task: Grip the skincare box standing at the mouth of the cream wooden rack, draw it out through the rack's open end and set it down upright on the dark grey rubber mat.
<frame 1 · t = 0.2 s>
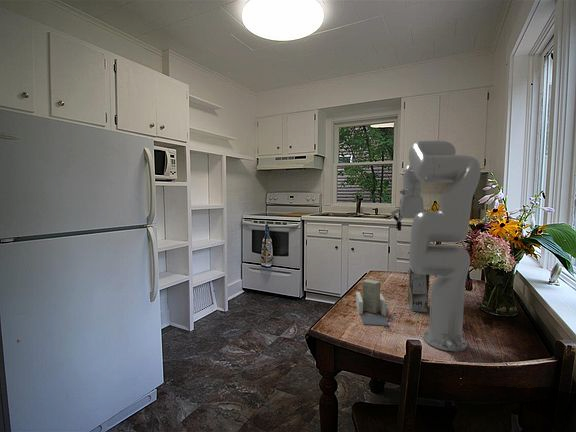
hand: (409, 230, 141), 31 cm above the table, tool pointing down, fingers open, 9 cm apart
coffee box: (417, 308, 129), on the table
skincare box: (370, 310, 126), resting in rack
rack: (370, 310, 126), on the table
mat: (374, 320, 116), on the table
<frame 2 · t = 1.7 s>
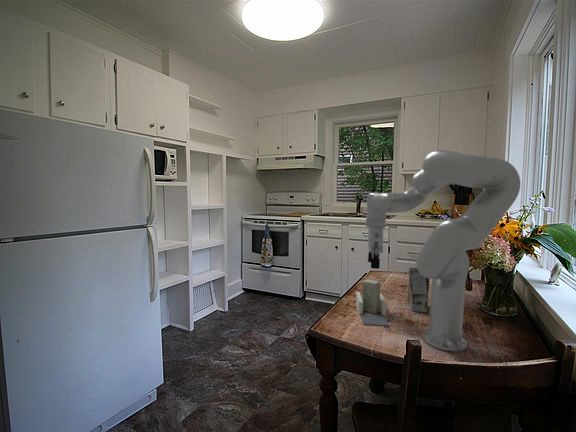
hand: (373, 265, 125), 19 cm above the table, tool pointing down, fingers open, 9 cm apart
nothing on the table moved.
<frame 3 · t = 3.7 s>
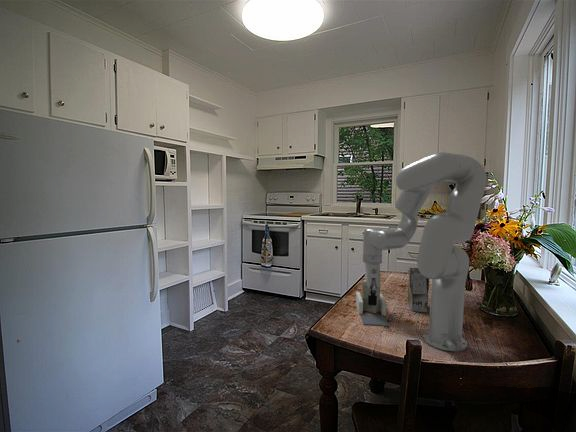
hand: (370, 301, 125), 4 cm above the table, tool pointing down, fingers closed on skincare box, 6 cm apart
skincare box: (370, 310, 126), resting in rack, touching gripper
everything else where it was.
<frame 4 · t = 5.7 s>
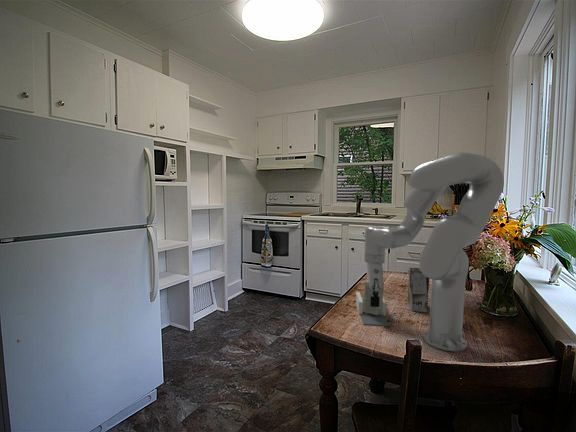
hand: (373, 302, 121), 5 cm above the table, tool pointing down, fingers closed on skincare box, 6 cm apart
skincare box: (372, 312, 121), point 1 cm above the table, touching gripper
everything else where it was.
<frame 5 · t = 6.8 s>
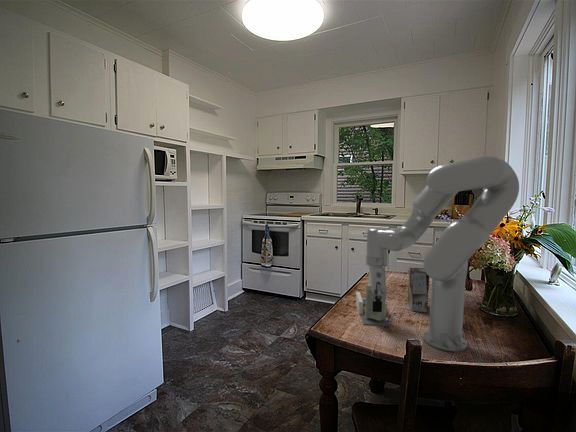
hand: (375, 307, 116), 5 cm above the table, tool pointing down, fingers closed on skincare box, 6 cm apart
skincare box: (374, 317, 116), point 1 cm above the table, touching gripper
everything else where it was.
when the fingers open (5 cm above the table, at t = 7.8 s): skincare box stays where it is, resting on mat.
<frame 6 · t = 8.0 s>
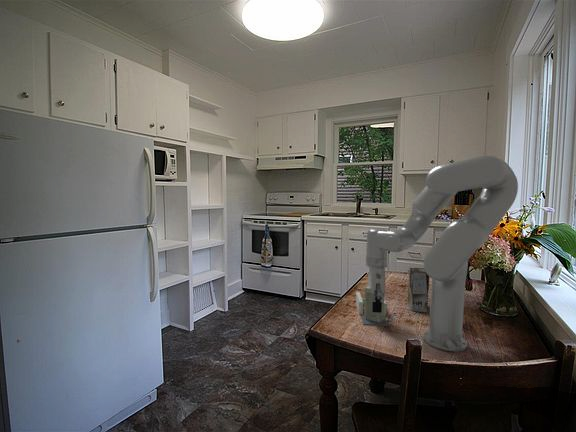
hand: (374, 307, 115), 5 cm above the table, tool pointing down, fingers open, 8 cm apart
skincare box: (373, 319, 116), resting on mat
everything else where it was.
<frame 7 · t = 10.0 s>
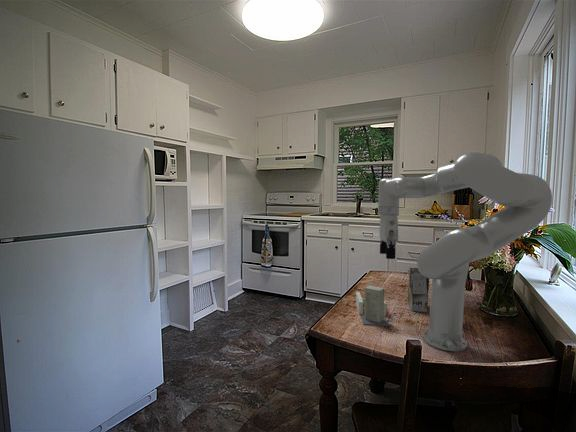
hand: (387, 256, 118), 24 cm above the table, tool pointing down, fingers open, 9 cm apart
nothing on the table moved.
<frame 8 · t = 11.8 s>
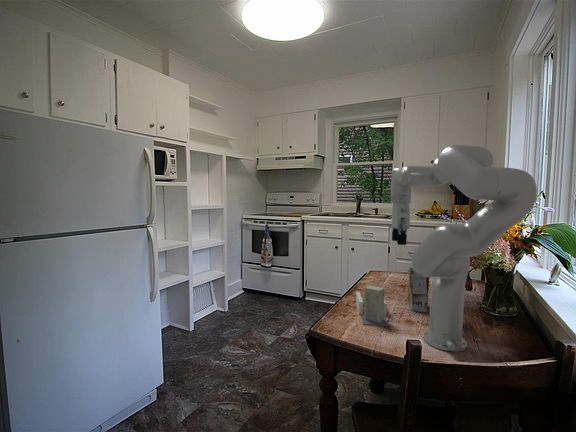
hand: (398, 242, 122), 28 cm above the table, tool pointing down, fingers open, 9 cm apart
nothing on the table moved.
at the end: skincare box inside the target area on the mat (0.2 cm from its centre), point 0.2 cm above the mat's base; skincare box tilted 0°; the gripper is holding nothing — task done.
